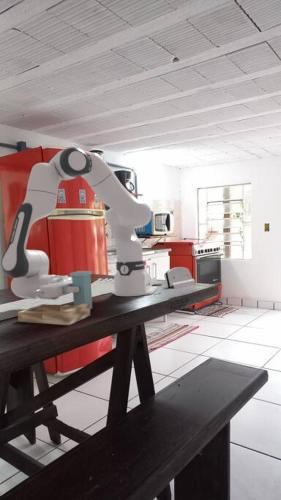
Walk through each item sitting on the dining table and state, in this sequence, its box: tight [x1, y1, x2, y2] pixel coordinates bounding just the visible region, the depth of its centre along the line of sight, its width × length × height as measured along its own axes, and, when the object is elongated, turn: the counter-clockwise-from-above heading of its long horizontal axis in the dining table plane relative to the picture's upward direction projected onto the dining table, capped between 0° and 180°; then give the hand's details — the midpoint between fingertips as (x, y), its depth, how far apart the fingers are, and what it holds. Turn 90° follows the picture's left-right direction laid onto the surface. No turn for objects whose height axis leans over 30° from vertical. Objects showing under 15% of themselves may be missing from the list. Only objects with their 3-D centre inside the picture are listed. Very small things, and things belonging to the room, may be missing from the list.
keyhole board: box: [17, 303, 91, 326], centre depth 111 cm, size 12×19×4 cm, turn 67°
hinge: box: [163, 266, 197, 289], centre depth 167 cm, size 17×5×10 cm, turn 134°
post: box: [69, 270, 93, 310], centre depth 119 cm, size 6×6×13 cm
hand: (84, 287), depth 119 cm, fingers closed on post, 4 cm apart
